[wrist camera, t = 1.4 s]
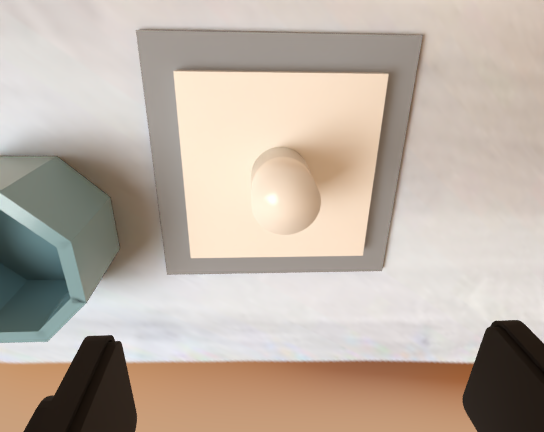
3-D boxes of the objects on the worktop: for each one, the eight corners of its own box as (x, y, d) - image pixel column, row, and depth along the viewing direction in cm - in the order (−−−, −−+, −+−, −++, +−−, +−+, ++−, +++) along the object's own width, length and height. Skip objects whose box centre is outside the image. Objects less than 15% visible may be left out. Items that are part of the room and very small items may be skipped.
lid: (383, 72, 22) (422, 82, 17) (359, 248, 27) (383, 295, 22) (176, 69, 21) (154, 79, 16) (192, 250, 26) (179, 299, 21)
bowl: (102, 156, 23) (58, 191, 18) (126, 281, 28) (95, 340, 22) (-57, 156, 23) (-151, 192, 18) (-8, 283, 27) (-72, 344, 22)
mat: (419, 35, 21) (422, 35, 21) (380, 268, 28) (382, 270, 28) (137, 30, 21) (135, 30, 20) (168, 271, 27) (167, 274, 27)
